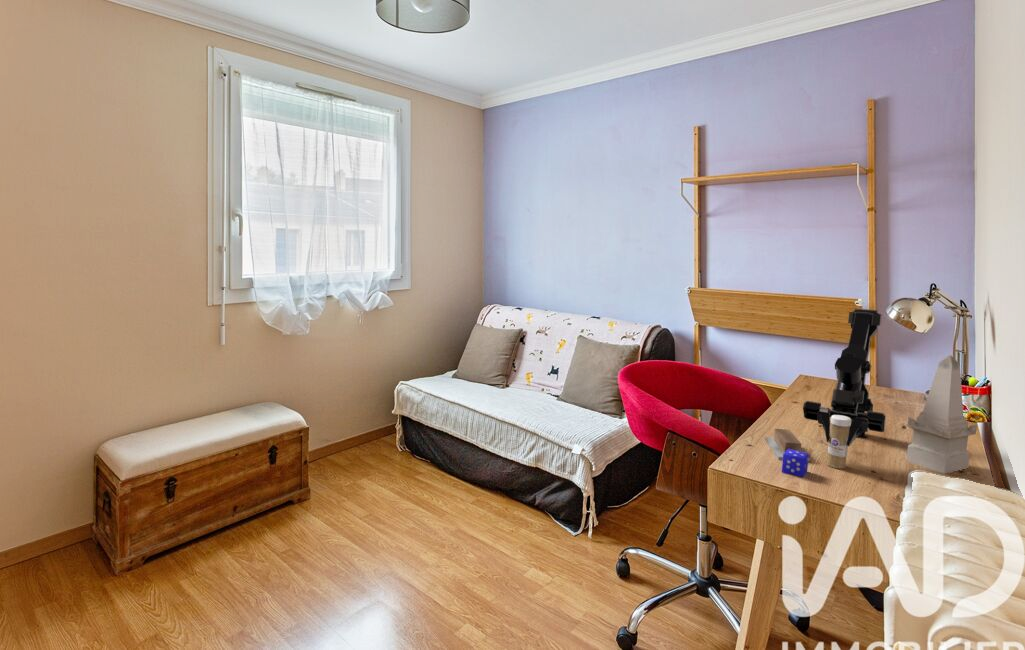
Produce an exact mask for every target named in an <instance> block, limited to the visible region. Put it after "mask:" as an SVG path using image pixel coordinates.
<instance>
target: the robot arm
mask: <svg viewBox="0 0 1025 650" xmlns="http://www.w3.org/2000/svg"><path fill="white" fill-rule="evenodd" d="M882 319H883V314H882V313H879V310H878V309H864V308H855V309H854V310H853V311H849V313H848V320H847V323H848V324H850V327H851V333H850V335H849V341H848V345H847V347H845V348H844V349H843V350H841V353H840V357H837V359H836V360H835V363H834V370H836V371H835V372H836V373H835V374H836V379H837V383H836V388H835V389H834V388H833V392H832V396H831V397H832V399H831V402H830V407H831V409H830V408H829V407H825V406H822V403H821V402H818V401H811V400H806V401H804V402H803V406H802V411H803V417H804V419H806V420H811V421H817V423H818V424H820V425H822V427H823V430H824V436H825V439H826V443H829V439H830V430H831V416H832V415H842V416H847V417H849V418H851V426H850V430H849V438H848V443H847V446H848V447H850V446H852V444H853V442H854V441H855V440H856V438H868V435H867V434H866V433H867V432H869V431H872V432H876V433H877V432H878V433H884V432H885V427H886V418H887V417H886V416H887V415H886V414H885V413H884V412H879V411H874V403H873V402H872V401H873V400H872V399H871V398H870V393H869V391H868V389H867V387H866V377H867V375H869V373H870V372H871V371H872V366H873V365H871V362H870V360H869V352H870V347H871V340H872V338H873V337H874V336H875V335H876V334H877V333H878V329H879V327H880V326H882V322H883V320H882Z"/></svg>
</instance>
